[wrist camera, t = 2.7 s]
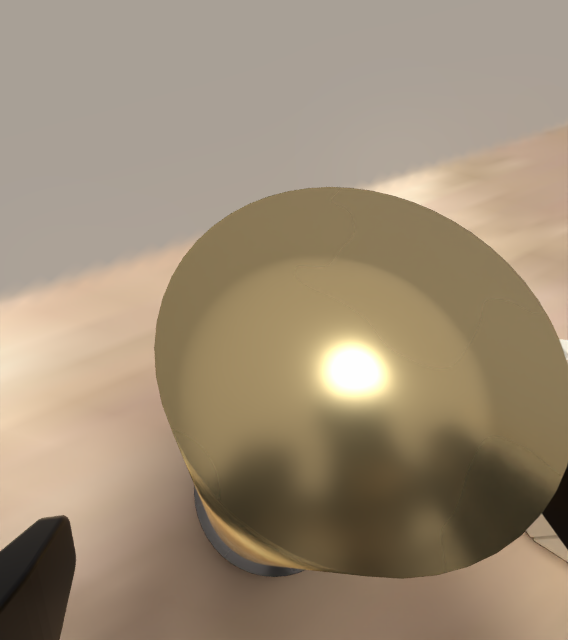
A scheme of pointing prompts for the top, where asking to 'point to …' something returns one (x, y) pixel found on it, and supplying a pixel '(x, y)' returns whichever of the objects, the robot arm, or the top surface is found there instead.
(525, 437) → the tan cylindrical piece
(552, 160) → the top surface
